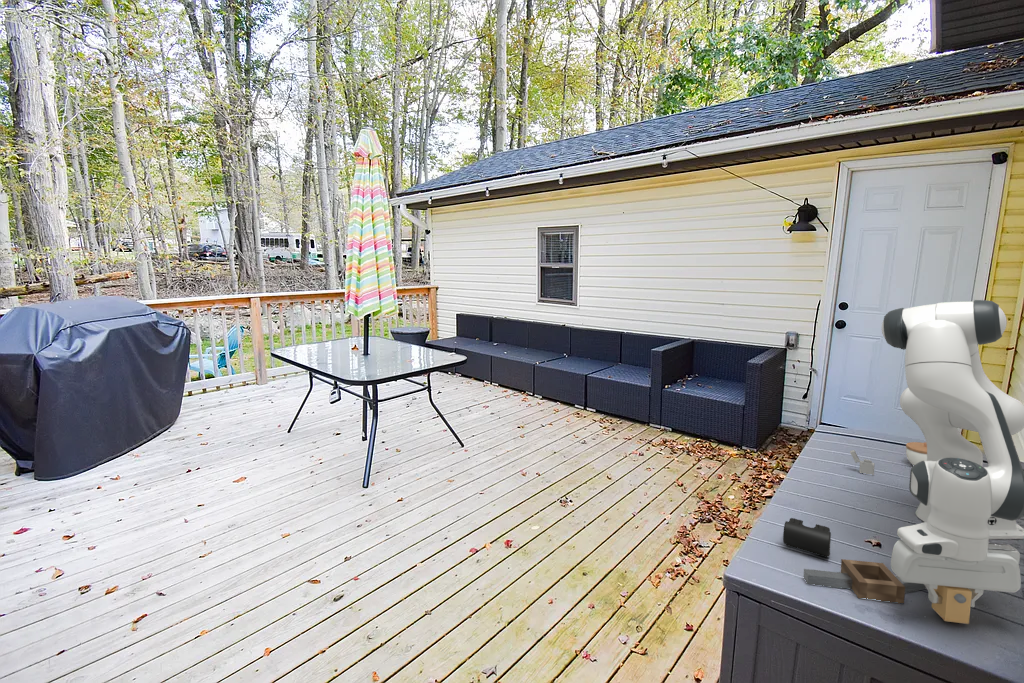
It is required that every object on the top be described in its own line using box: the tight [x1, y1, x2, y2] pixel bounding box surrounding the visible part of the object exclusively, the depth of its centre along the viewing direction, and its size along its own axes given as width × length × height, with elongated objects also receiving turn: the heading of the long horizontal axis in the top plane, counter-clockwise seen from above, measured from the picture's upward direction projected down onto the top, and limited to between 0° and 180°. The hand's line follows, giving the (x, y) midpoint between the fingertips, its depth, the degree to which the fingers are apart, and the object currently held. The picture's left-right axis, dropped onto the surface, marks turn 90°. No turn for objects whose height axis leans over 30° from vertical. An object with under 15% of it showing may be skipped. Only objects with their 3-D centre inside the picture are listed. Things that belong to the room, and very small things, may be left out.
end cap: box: [782, 517, 832, 558], centre depth 117 cm, size 10×7×7 cm
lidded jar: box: [905, 441, 927, 466], centre depth 164 cm, size 11×11×9 cm
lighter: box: [849, 449, 875, 476], centre depth 161 cm, size 7×2×8 cm, turn 51°
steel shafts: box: [803, 568, 927, 594], centre depth 104 cm, size 26×6×2 cm, turn 76°
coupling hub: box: [840, 558, 906, 604], centre depth 102 cm, size 8×8×4 cm
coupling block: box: [931, 585, 972, 625], centre depth 91 cm, size 4×5×7 cm
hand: (950, 603), depth 91 cm, fingers closed on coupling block, 4 cm apart
